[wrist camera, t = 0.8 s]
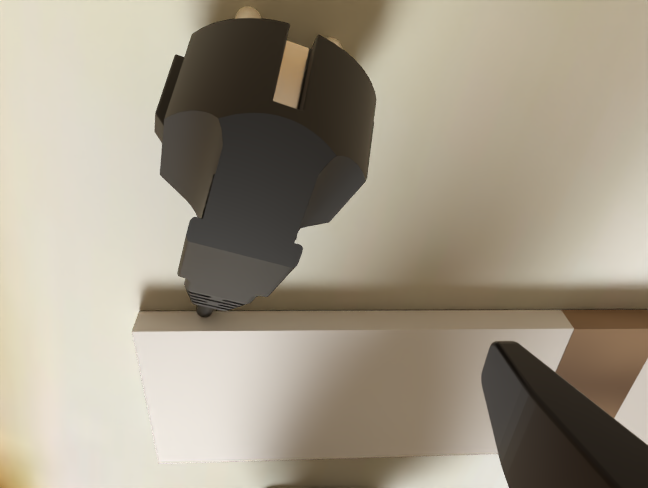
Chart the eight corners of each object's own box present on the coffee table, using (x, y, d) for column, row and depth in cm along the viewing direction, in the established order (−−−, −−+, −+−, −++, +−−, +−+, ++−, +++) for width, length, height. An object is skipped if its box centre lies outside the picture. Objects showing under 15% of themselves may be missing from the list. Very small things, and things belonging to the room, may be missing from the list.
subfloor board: (688, 428, 28) (703, 448, 27) (163, 441, 26) (158, 464, 24) (770, 309, 23) (793, 327, 22) (139, 311, 21) (131, 332, 20)
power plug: (127, 313, 20) (113, 172, 9) (177, 150, 23) (210, -100, 12) (267, 343, 21) (397, 250, 11) (297, 185, 24) (421, -11, 14)
